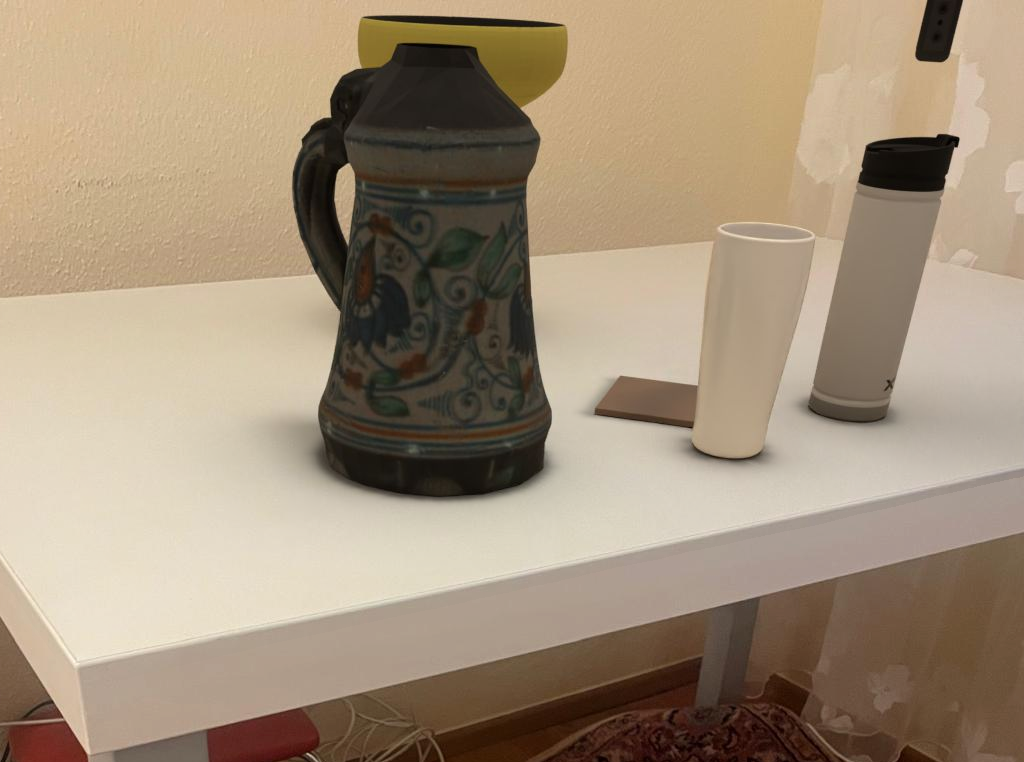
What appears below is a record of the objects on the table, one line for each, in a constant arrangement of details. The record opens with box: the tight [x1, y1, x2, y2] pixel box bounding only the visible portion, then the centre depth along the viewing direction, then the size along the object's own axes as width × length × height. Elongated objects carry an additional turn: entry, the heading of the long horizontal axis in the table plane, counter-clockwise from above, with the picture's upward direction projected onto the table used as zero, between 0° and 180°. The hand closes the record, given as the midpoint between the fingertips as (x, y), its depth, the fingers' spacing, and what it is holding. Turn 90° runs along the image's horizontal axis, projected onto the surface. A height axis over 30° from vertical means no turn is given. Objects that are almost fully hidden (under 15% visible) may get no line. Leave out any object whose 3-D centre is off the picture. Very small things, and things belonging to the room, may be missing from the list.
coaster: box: [593, 375, 698, 428], centre depth 98 cm, size 10×10×1 cm
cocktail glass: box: [357, 14, 569, 109], centre depth 109 cm, size 18×18×25 cm
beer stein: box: [291, 43, 553, 497], centre depth 79 cm, size 16×19×25 cm
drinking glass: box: [691, 221, 817, 459], centre depth 85 cm, size 7×7×15 cm
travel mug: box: [808, 133, 961, 422], centre depth 93 cm, size 6×7×20 cm
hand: (930, 58), depth 84 cm, fingers open, 8 cm apart
